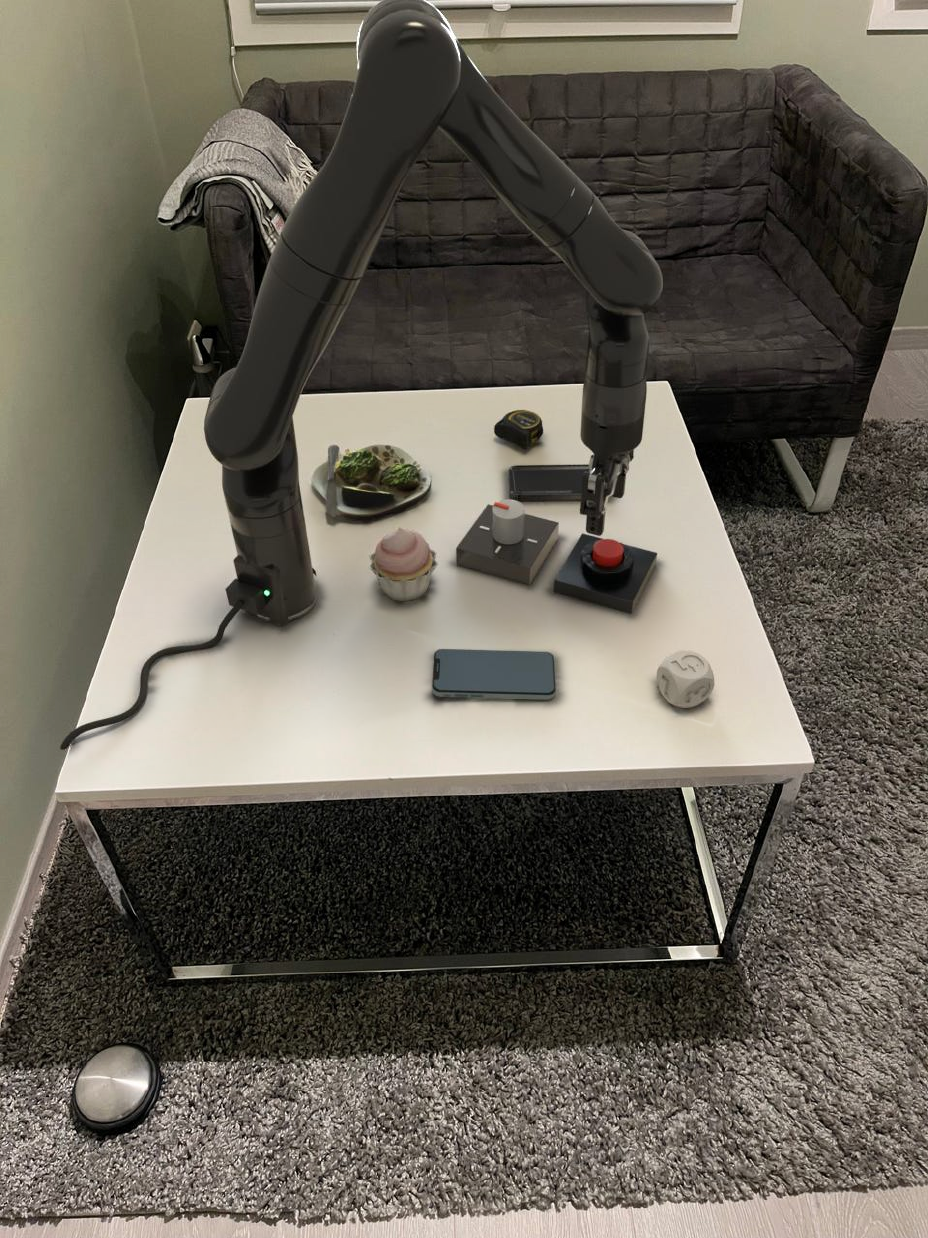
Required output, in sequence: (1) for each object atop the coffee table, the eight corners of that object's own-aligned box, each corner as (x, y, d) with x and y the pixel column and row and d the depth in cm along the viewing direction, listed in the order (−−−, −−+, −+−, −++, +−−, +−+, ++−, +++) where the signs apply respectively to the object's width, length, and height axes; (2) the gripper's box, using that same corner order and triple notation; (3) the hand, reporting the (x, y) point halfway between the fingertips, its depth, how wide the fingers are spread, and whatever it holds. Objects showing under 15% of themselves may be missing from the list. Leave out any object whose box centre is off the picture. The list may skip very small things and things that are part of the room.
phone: (508, 465, 157) (605, 463, 157) (508, 471, 158) (604, 469, 157) (510, 495, 151) (610, 494, 151) (510, 501, 152) (610, 500, 152)
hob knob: (529, 530, 142) (530, 502, 139) (515, 548, 139) (515, 520, 136) (501, 521, 144) (501, 494, 140) (486, 538, 141) (486, 511, 138)
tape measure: (491, 440, 164) (491, 420, 162) (519, 423, 168) (519, 403, 165) (523, 456, 161) (524, 436, 158) (551, 438, 164) (552, 418, 162)
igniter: (631, 614, 134) (634, 591, 131) (553, 592, 137) (554, 569, 134) (655, 564, 141) (659, 542, 138) (581, 544, 144) (582, 522, 142)
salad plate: (285, 470, 159) (281, 445, 156) (386, 436, 165) (384, 412, 162) (339, 536, 147) (335, 510, 144) (445, 496, 153) (444, 471, 150)
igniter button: (616, 570, 135) (618, 560, 133) (588, 563, 136) (589, 553, 135) (626, 553, 137) (627, 543, 136) (598, 545, 138) (599, 535, 137)
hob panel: (529, 585, 138) (530, 567, 136) (456, 564, 142) (455, 547, 139) (558, 538, 145) (559, 521, 143) (487, 520, 149) (487, 502, 147)
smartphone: (556, 694, 122) (431, 691, 122) (555, 704, 123) (431, 700, 123) (553, 649, 127) (434, 646, 127) (552, 659, 128) (434, 656, 128)
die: (654, 685, 124) (658, 657, 121) (688, 673, 126) (694, 644, 122) (676, 713, 121) (681, 685, 117) (711, 700, 122) (717, 671, 119)
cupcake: (428, 558, 143) (424, 501, 136) (447, 600, 136) (445, 542, 129) (363, 572, 141) (357, 515, 134) (380, 616, 134) (374, 558, 127)
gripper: (602, 371, 127) (595, 478, 138) (563, 430, 118) (559, 539, 129) (660, 382, 125) (648, 490, 136) (625, 443, 115) (615, 553, 126)
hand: (605, 514), depth 132 cm, fingers open, 8 cm apart
